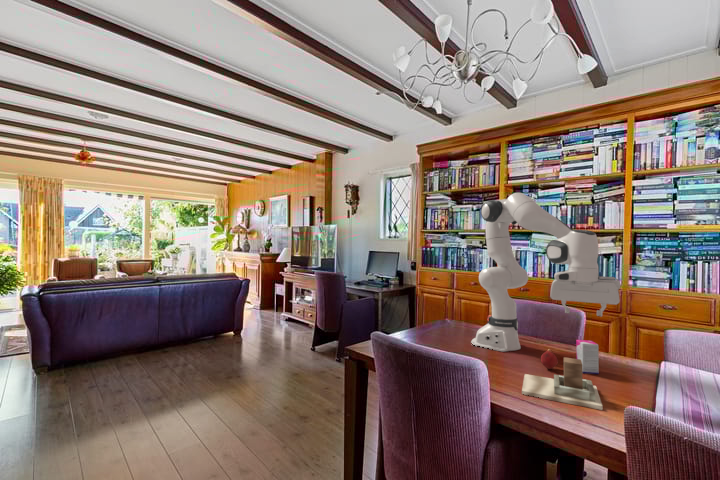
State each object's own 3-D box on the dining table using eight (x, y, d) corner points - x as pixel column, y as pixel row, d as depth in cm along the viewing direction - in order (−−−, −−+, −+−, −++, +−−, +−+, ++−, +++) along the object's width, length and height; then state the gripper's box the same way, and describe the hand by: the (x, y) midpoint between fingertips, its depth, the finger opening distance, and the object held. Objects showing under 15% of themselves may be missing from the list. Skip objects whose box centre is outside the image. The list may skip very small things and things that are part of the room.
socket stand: (521, 394, 111) (521, 383, 111) (524, 377, 124) (524, 367, 124) (602, 410, 100) (602, 397, 100) (596, 389, 113) (595, 378, 113)
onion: (551, 373, 128) (551, 352, 128) (537, 368, 133) (537, 348, 133) (560, 370, 130) (560, 350, 131) (546, 365, 136) (546, 346, 136)
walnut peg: (564, 392, 109) (564, 361, 109) (564, 386, 113) (563, 357, 114) (582, 395, 107) (582, 364, 107) (581, 389, 111) (581, 359, 111)
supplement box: (599, 374, 126) (598, 344, 126) (582, 373, 127) (581, 343, 127) (592, 368, 132) (591, 340, 132) (575, 367, 133) (575, 339, 133)
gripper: (618, 276, 114) (618, 316, 114) (550, 273, 124) (550, 309, 124) (621, 278, 108) (621, 320, 109) (550, 274, 119) (550, 313, 119)
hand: (583, 314), depth 117 cm, fingers open, 8 cm apart
